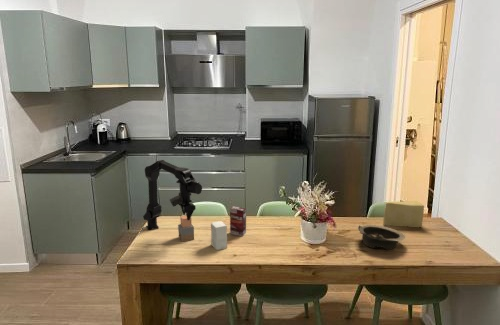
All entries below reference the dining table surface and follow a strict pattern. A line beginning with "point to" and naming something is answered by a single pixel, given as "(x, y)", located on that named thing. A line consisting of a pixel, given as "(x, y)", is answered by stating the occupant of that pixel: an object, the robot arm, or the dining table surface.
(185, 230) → the tower top
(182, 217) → the terracotta cube
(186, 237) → the tower base
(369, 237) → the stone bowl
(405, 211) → the cheese
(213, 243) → the small box
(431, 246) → the dining table surface
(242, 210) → the supplement box
